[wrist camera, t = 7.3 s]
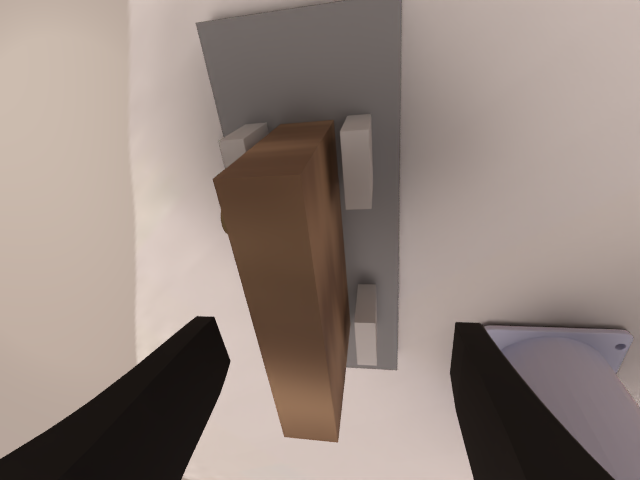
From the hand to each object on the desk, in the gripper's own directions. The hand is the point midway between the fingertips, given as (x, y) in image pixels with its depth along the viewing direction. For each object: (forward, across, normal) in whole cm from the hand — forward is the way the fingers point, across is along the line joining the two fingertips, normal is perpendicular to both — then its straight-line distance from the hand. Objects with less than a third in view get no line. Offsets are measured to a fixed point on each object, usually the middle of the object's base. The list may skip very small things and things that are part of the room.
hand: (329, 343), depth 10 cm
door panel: (+8, +2, +1) cm, 8 cm away
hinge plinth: (+9, +2, +1) cm, 10 cm away
